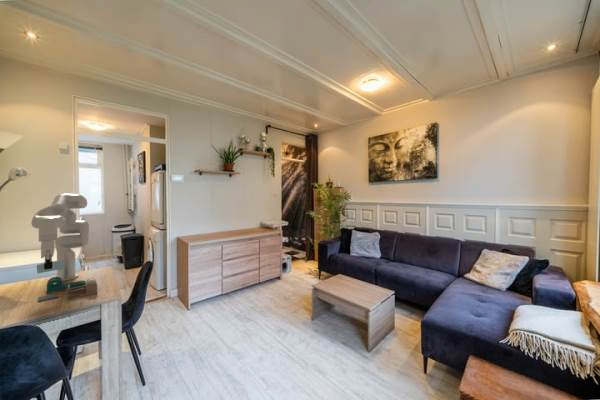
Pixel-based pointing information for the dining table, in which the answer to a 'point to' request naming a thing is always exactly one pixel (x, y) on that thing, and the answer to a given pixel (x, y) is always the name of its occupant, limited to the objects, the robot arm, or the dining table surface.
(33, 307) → the dining table surface
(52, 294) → the mat
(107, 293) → the dining table surface
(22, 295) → the dining table surface
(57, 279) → the dark green elongated piece
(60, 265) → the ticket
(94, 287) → the dispenser
